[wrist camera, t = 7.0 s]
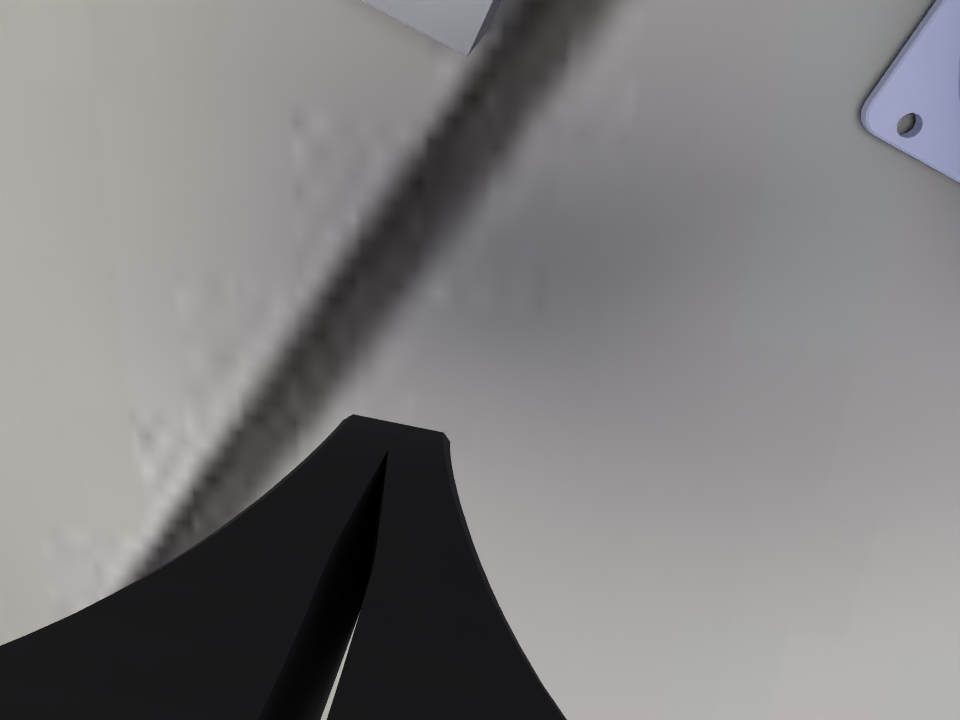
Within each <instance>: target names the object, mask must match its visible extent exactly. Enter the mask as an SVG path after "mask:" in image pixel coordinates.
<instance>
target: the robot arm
mask: <svg viewBox="0 0 960 720" xmlns="http://www.w3.org/2000/svg"><path fill="white" fill-rule="evenodd" d="M910 113H914V114H915V117H916V122H915V125H914V127H913V128H912V129H911V130H910V131H909V132H908V133H904V134H898V133H897V124H898V122H899V120H900V119H901V118H902V117H903V116H904V115H906V114H910ZM861 121H862V124H863V126H864V128H865V129H867V130H868V131H869V132H870V133H871V134H873V135H875V136H876V137H878V138H880V139H882V140H884V141H885V142H887V143H889V144H891V145H893V146H894V147H896V148H898V149H900V150H902V151H903V152H905V153H907V154H909V155H911V156H912V157H914V158H916V159H918V160H919V161H921V162H923V163H925V164H927V165H928V166H930V167H932V168H934V169H936V170H937V171H939V172H941V173H943V174H945V175H946V176H948V177H950V178H952V179H954V180H955V181H957V182H959V183H960V0H936V1H935V3H934V4H933V6H932V7H931V9H930V10H929V11H928V13H927V14H926V16H925V17H924V19H923V20H922V21H921V23H920V24H919V26H918V27H917V28H916V30H915V31H914V33H913V34H912V36H911V37H910V38H909V40H908V41H907V43H906V44H905V46H904V47H903V48H902V50H901V51H900V53H899V54H898V56H897V57H896V58H895V60H894V61H893V63H892V64H891V66H890V67H889V68H888V70H887V71H886V73H885V74H884V75H883V77H882V78H881V80H880V81H879V83H878V84H877V85H876V87H875V88H874V90H873V91H872V93H871V94H870V95H869V97H868V98H867V100H866V101H865V103H864V105H863V108H862V110H861ZM359 613H360V614H359ZM358 616H359V617H358ZM357 618H358V621H357ZM356 621H357V624H356ZM355 624H356V627H355ZM354 627H355V631H354V634H353V637H352V641H351V644H350V647H349V650H348V654H347V657H346V660H345V664H344V667H343V670H342V674H341V677H340V680H339V683H338V686H337V689H336V692H335V696H334V699H333V702H332V705H331V708H330V711H329V714H328V718H327V720H567V719H566V718H565V716H564V715H563V714H562V712H561V711H560V709H559V708H558V706H557V705H556V703H555V702H554V700H553V699H552V697H551V696H550V695H549V693H548V692H547V690H546V689H545V687H544V686H543V684H542V683H541V681H540V679H539V678H538V676H537V674H536V673H535V671H534V669H533V667H532V666H531V664H530V662H529V661H528V659H527V657H526V655H525V654H524V652H523V650H522V649H521V647H520V645H519V643H518V641H517V639H516V638H515V636H514V634H513V632H512V630H511V628H510V626H509V624H508V622H507V621H506V619H505V617H504V615H503V612H502V610H501V608H500V606H499V604H498V602H497V600H496V598H495V595H494V593H493V591H492V589H491V587H490V584H489V582H488V579H487V577H486V575H485V572H484V570H483V567H482V565H481V563H480V560H479V558H478V555H477V552H476V550H475V547H474V544H473V542H472V538H471V535H470V532H469V529H468V526H467V523H466V520H465V517H464V514H463V511H462V507H461V504H460V500H459V497H458V493H457V488H456V484H455V480H454V475H453V470H452V464H451V456H450V441H449V440H448V438H447V437H446V435H445V434H444V433H443V432H438V431H433V430H428V429H423V428H418V427H413V426H408V425H403V424H398V423H393V422H388V421H383V420H378V419H373V418H369V417H364V416H359V415H354V414H353V415H351V416H349V417H348V418H346V419H344V420H343V421H342V422H341V423H340V424H339V426H338V427H337V428H336V429H335V430H334V431H333V432H332V433H331V434H330V435H329V436H328V437H327V438H326V439H325V440H324V441H323V442H322V443H321V444H320V445H319V446H318V447H317V448H316V449H315V450H314V451H313V452H312V453H311V454H310V455H309V456H308V457H307V458H306V459H305V460H304V461H303V462H301V463H300V464H299V465H298V466H297V467H296V468H295V469H294V470H292V471H291V472H290V473H289V474H288V475H287V476H285V477H284V478H283V479H282V480H281V481H280V482H279V483H277V484H276V485H275V486H274V487H273V488H272V489H270V490H269V491H268V492H267V493H266V494H264V495H263V496H262V497H261V498H259V499H258V500H257V501H255V502H254V503H253V504H252V505H250V506H249V507H248V508H246V509H245V510H244V511H242V512H241V513H240V514H238V515H237V516H236V517H234V518H233V519H232V520H230V521H229V522H228V523H226V524H225V525H224V526H222V527H221V528H220V529H218V530H217V531H216V532H214V533H213V534H211V535H210V536H208V537H207V538H205V539H204V540H202V541H201V542H199V543H198V544H197V545H195V546H193V547H192V548H190V549H189V550H187V551H186V552H184V553H183V554H181V555H179V556H178V557H176V558H175V559H173V560H171V561H170V562H168V563H166V564H165V565H163V566H162V567H160V568H158V569H157V570H155V571H153V572H152V573H150V574H148V575H146V576H145V577H143V578H141V579H139V580H137V581H135V582H134V583H132V584H130V585H128V586H126V587H125V588H123V589H121V590H119V591H117V592H115V593H114V594H112V595H110V596H108V597H106V598H104V599H102V600H100V601H98V602H96V603H94V604H92V605H90V606H88V607H86V608H84V609H83V610H81V611H79V612H77V613H75V614H72V615H70V616H68V617H66V618H64V619H62V620H59V621H57V622H55V623H53V624H50V625H48V626H46V627H44V628H41V629H39V630H37V631H35V632H32V633H30V634H28V635H26V636H23V637H21V638H18V639H16V640H13V641H11V642H9V643H6V644H4V645H1V646H0V720H320V719H321V717H322V714H323V711H324V709H325V706H326V703H327V700H328V698H329V695H330V692H331V689H332V687H333V684H334V681H335V679H336V676H337V673H338V670H339V668H340V665H341V662H342V660H343V657H344V654H345V651H346V649H347V646H348V643H349V640H350V638H351V635H352V632H353V629H354Z"/></svg>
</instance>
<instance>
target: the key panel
mask: <svg viewBox="0 0 960 720" xmlns="http://www.w3.org/2000/svg"><path fill="white" fill-rule="evenodd" d="M361 1H363V2H365V3H367V4H369V5H371V6H372V7H374V8H376V9H378V10H380V11H382V12H384V13H386V14H387V15H389V16H391V17H393V18H395V19H397V20H399V21H401V22H403V23H404V24H406V25H408V26H410V27H412V28H414V29H416V30H418V31H420V32H421V33H423V34H425V35H427V36H429V37H431V38H433V39H435V40H437V41H438V42H440V43H442V44H444V45H446V46H448V47H450V48H452V49H453V50H455V51H457V52H459V53H461V54H463V55H465V56H468V55H469V54H470V53H471V51H472V50H473V49H474V47H475V46H476V45H477V43H478V42H479V41H480V39H481V38H482V37H483V35H484V34H485V33H486V30H487V28H488V26H489V24H490V22H491V19H492V17H493V15H494V13H495V11H496V9H497V6H498V4H499V2H500V0H361Z"/></svg>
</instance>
